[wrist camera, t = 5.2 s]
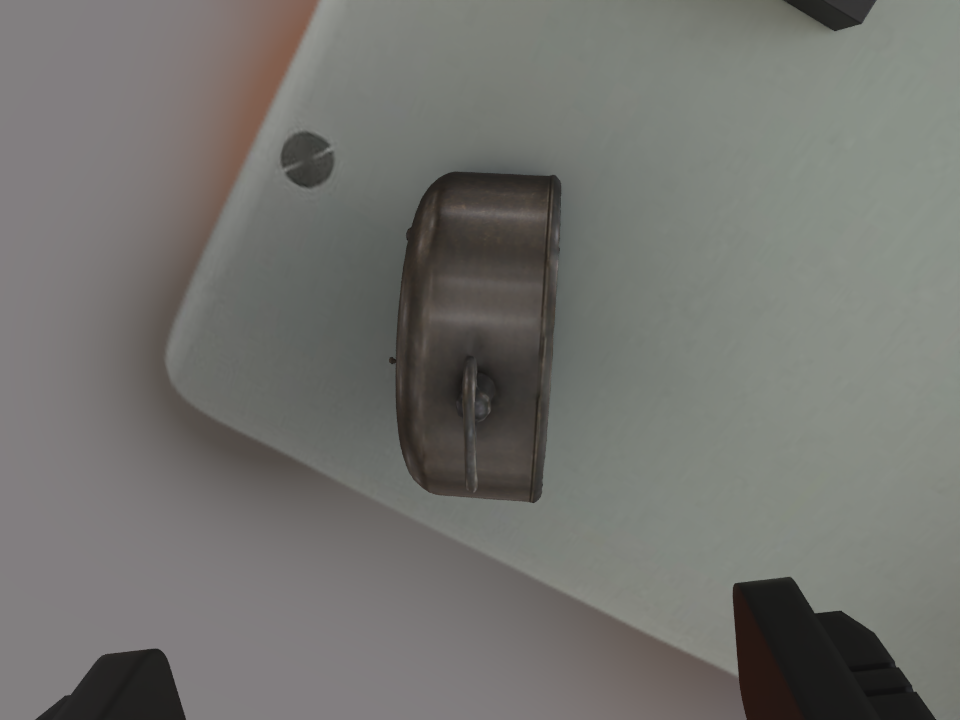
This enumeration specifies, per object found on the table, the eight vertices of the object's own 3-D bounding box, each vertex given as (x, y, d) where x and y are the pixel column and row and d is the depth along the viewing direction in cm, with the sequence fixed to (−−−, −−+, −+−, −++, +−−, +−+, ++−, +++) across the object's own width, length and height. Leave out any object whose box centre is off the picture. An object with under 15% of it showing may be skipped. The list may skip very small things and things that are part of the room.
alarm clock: (540, 422, 36) (568, 657, 20) (417, 416, 36) (349, 644, 20) (558, 165, 33) (607, 207, 17) (423, 158, 33) (349, 194, 17)
